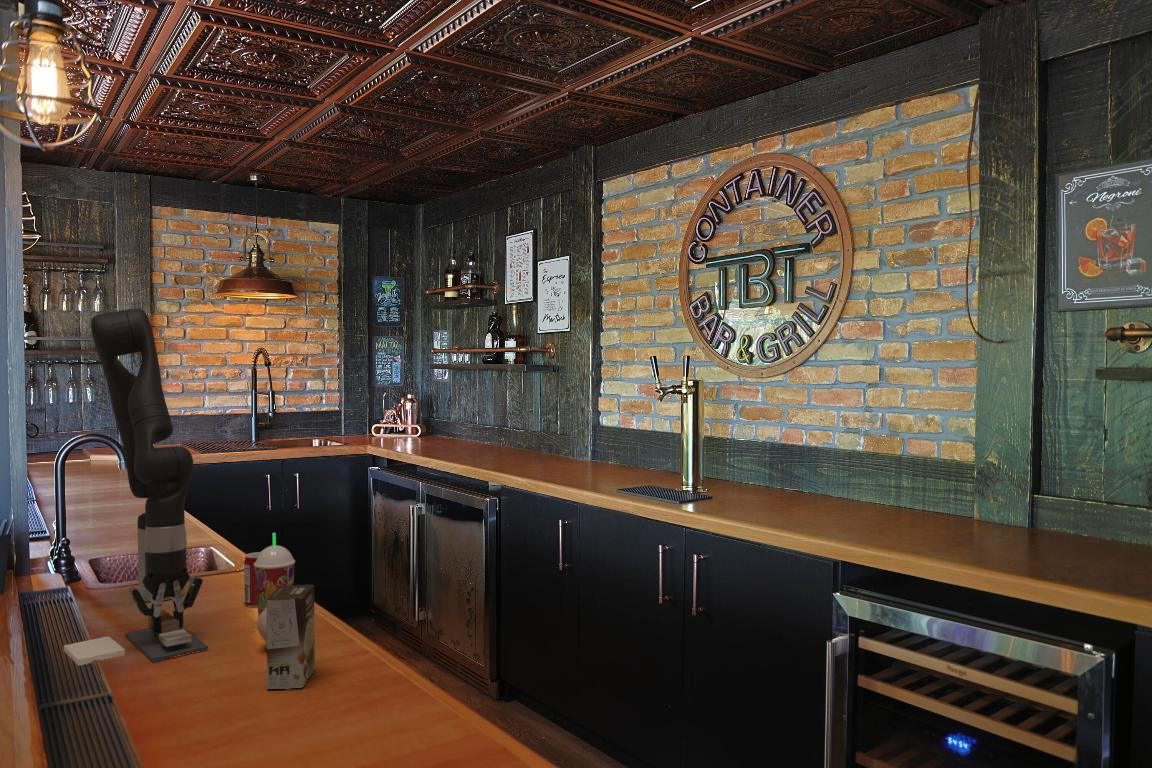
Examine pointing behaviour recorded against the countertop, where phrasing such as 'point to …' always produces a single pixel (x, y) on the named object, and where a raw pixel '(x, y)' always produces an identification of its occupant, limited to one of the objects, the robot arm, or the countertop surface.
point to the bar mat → (161, 645)
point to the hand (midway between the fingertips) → (167, 631)
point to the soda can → (250, 579)
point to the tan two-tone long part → (171, 630)
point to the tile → (93, 650)
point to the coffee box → (290, 636)
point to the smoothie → (272, 572)
